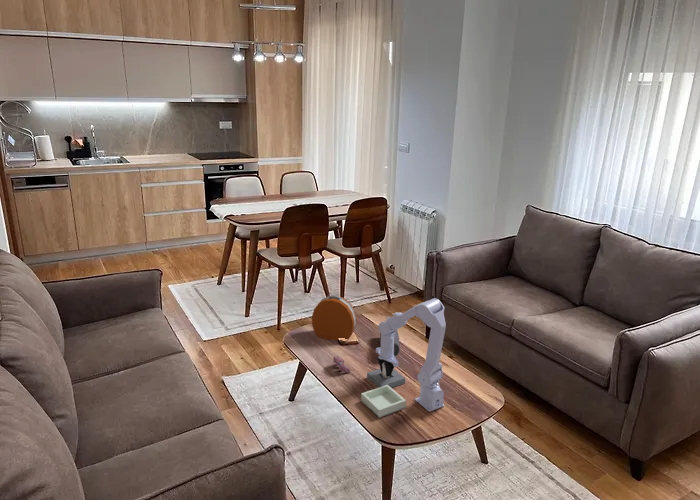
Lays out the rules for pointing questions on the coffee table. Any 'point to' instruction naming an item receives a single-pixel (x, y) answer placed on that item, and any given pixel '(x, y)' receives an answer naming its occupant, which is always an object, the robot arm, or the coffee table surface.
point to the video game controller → (341, 364)
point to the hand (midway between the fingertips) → (386, 373)
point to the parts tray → (383, 401)
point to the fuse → (384, 372)
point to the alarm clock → (334, 318)
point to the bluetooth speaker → (395, 343)
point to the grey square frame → (379, 381)
